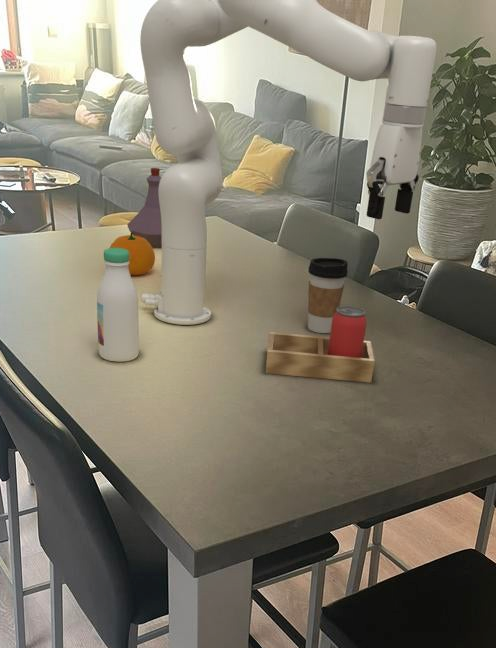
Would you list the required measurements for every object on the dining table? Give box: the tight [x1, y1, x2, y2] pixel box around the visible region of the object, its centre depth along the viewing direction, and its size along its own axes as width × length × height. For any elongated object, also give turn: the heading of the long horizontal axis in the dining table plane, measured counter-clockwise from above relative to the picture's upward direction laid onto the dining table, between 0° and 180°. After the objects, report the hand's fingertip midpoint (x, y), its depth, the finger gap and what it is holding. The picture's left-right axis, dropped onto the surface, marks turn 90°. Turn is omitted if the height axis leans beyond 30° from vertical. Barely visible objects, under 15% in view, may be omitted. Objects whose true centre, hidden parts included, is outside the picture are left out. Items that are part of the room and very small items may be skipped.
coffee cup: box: [307, 257, 349, 334], centre depth 168 cm, size 8×8×15 cm
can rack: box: [265, 331, 376, 384], centre depth 152 cm, size 20×11×4 cm, turn 87°
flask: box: [127, 167, 162, 248], centre depth 218 cm, size 16×16×20 cm
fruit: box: [109, 232, 156, 276], centre depth 195 cm, size 12×12×10 cm
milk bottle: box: [96, 247, 140, 363], centre depth 145 cm, size 8×8×20 cm
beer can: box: [328, 305, 367, 358], centre depth 150 cm, size 7×7×12 cm
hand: (388, 214), depth 149 cm, fingers open, 9 cm apart
